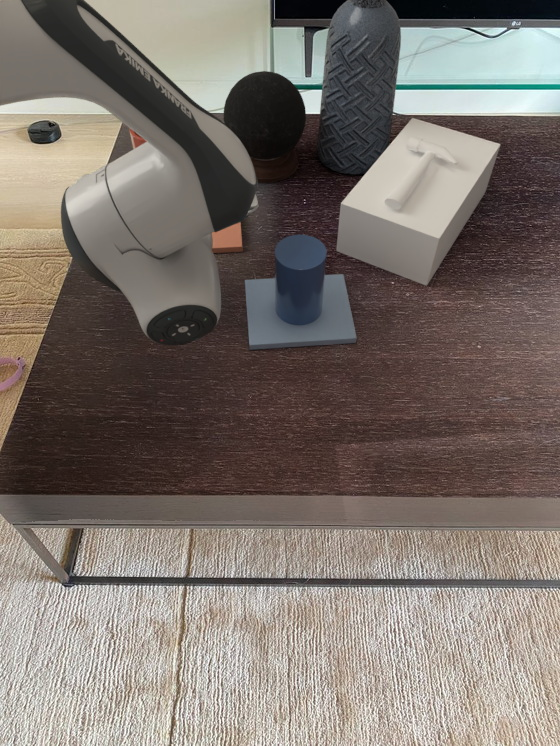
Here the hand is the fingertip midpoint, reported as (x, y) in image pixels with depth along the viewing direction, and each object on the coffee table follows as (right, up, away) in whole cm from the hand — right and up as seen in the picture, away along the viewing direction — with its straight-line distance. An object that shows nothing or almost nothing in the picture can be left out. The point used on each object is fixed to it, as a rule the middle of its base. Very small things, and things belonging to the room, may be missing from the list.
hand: (161, 155), depth 78 cm
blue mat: (+17, -19, +7) cm, 27 cm away
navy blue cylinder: (+17, -19, +6) cm, 26 cm away
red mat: (0, -4, +18) cm, 19 cm away
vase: (+27, +10, +29) cm, 41 cm away
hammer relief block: (+36, -4, +19) cm, 41 cm away
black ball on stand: (+12, +8, +28) cm, 32 cm away
